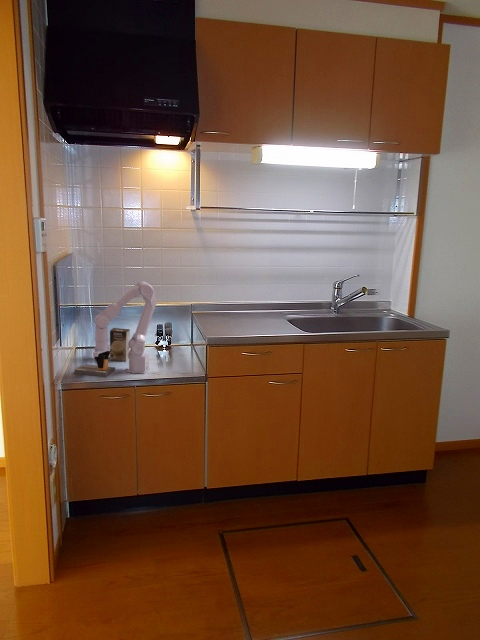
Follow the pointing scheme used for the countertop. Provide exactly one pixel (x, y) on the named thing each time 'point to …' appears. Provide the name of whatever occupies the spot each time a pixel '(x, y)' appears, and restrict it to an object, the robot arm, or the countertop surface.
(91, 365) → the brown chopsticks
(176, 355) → the countertop surface
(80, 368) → the switch panel
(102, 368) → the knob
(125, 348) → the coffee box
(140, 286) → the robot arm
